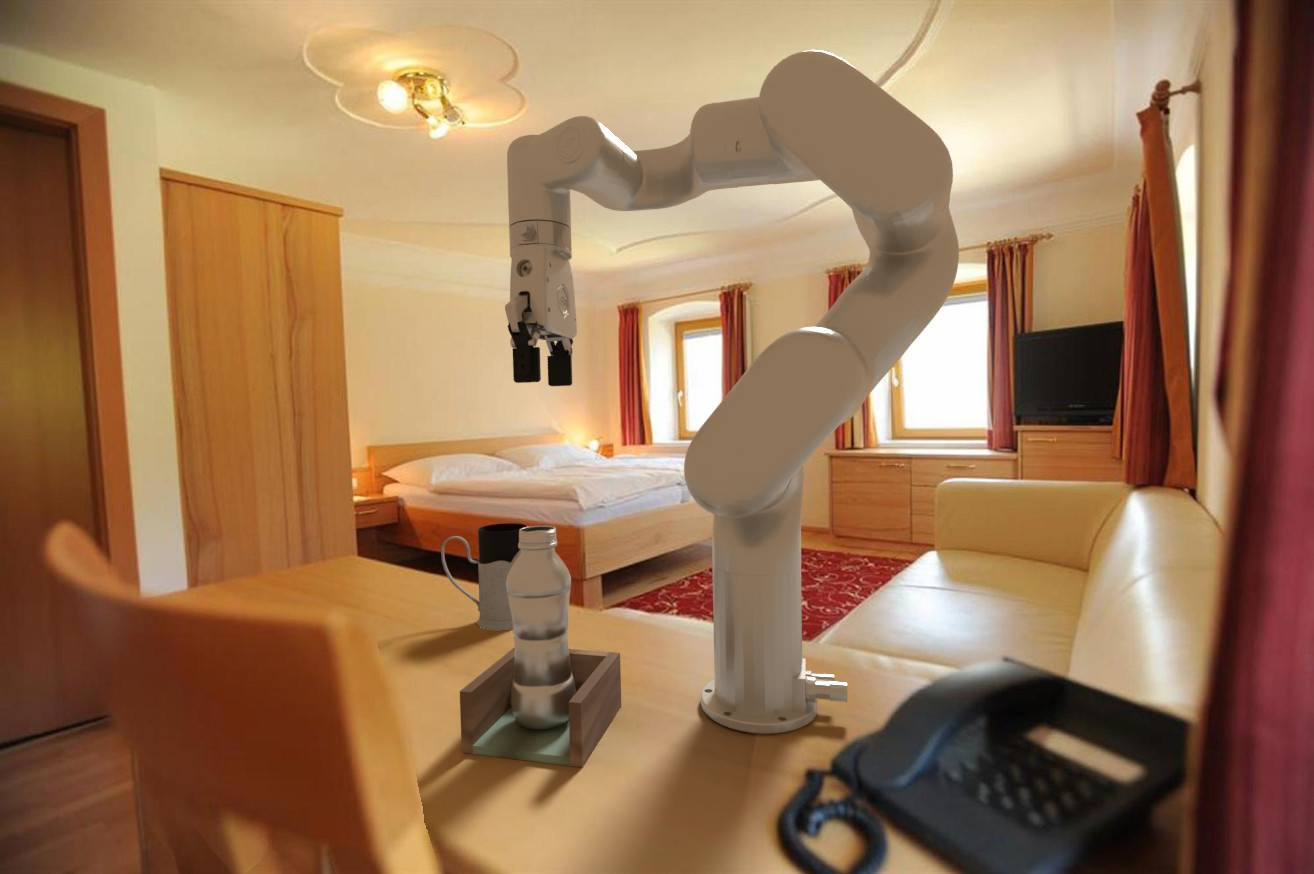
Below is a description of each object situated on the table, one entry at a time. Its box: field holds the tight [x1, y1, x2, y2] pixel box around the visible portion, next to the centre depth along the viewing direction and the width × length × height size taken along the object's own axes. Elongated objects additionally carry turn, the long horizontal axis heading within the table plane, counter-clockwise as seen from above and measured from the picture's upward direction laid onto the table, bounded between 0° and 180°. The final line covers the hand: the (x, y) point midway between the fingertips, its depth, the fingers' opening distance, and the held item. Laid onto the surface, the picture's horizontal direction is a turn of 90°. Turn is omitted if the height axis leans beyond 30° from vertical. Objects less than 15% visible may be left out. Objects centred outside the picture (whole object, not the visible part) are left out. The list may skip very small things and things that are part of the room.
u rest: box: [459, 646, 622, 768], centre depth 63 cm, size 12×12×6 cm
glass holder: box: [440, 522, 528, 632], centre depth 96 cm, size 9×14×15 cm, turn 90°
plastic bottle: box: [506, 525, 576, 729], centre depth 62 cm, size 6×7×20 cm
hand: (544, 384), depth 76 cm, fingers open, 9 cm apart
